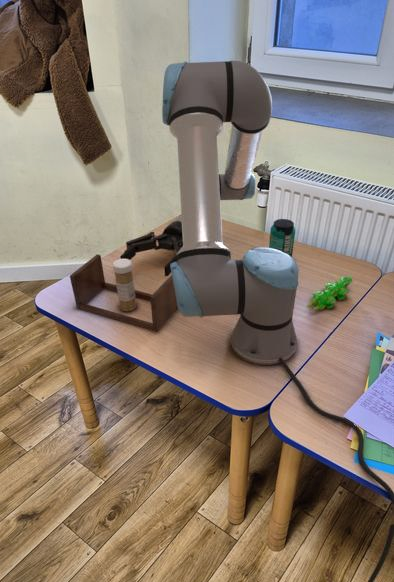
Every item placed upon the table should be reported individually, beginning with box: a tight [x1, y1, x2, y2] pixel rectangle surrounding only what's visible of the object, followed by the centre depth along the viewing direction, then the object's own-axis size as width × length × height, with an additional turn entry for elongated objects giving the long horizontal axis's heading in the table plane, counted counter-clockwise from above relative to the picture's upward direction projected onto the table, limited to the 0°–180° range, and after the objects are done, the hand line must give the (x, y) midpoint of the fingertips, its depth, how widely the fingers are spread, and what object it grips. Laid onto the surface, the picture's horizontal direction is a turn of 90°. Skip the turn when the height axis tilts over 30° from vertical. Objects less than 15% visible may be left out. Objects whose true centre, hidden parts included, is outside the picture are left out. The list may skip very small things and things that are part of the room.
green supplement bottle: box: [268, 218, 296, 258], centre depth 137 cm, size 7×7×12 cm
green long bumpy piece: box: [306, 275, 354, 311], centre depth 123 cm, size 7×18×4 cm, turn 134°
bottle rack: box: [69, 253, 178, 333], centre depth 120 cm, size 12×24×10 cm, turn 65°
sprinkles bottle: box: [112, 258, 138, 312], centre depth 119 cm, size 5×5×13 cm
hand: (143, 266), depth 125 cm, fingers open, 13 cm apart
